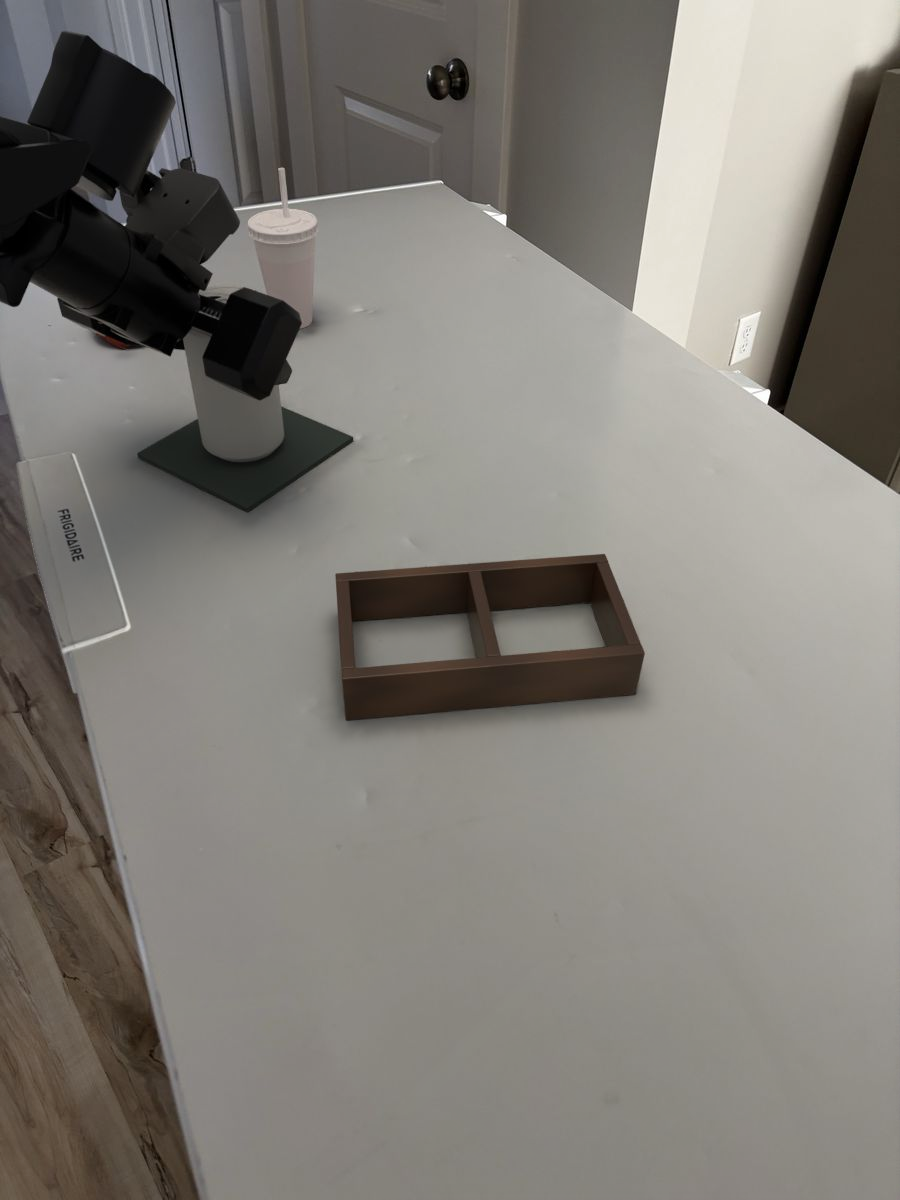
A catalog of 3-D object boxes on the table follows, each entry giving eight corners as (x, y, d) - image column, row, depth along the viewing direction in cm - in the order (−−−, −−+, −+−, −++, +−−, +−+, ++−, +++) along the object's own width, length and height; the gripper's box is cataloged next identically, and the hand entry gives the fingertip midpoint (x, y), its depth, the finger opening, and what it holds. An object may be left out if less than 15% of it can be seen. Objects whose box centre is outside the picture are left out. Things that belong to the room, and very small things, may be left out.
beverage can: (210, 423, 76) (184, 281, 68) (289, 423, 76) (273, 281, 68) (197, 468, 71) (167, 320, 63) (281, 467, 71) (262, 320, 63)
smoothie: (339, 317, 91) (328, 167, 82) (297, 342, 87) (281, 187, 78) (288, 301, 94) (273, 154, 84) (246, 325, 90) (224, 173, 80)
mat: (137, 457, 73) (136, 453, 72) (246, 395, 80) (246, 391, 80) (247, 512, 68) (247, 508, 67) (353, 440, 75) (353, 436, 75)
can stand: (345, 720, 53) (341, 679, 51) (338, 614, 60) (335, 573, 57) (636, 694, 55) (645, 653, 53) (598, 593, 62) (605, 553, 59)
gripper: (263, 170, 52) (389, 293, 66) (48, 111, 59) (203, 233, 73) (182, 354, 52) (325, 437, 66) (-21, 272, 60) (146, 362, 74)
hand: (247, 360), depth 70 cm, fingers open, 8 cm apart
